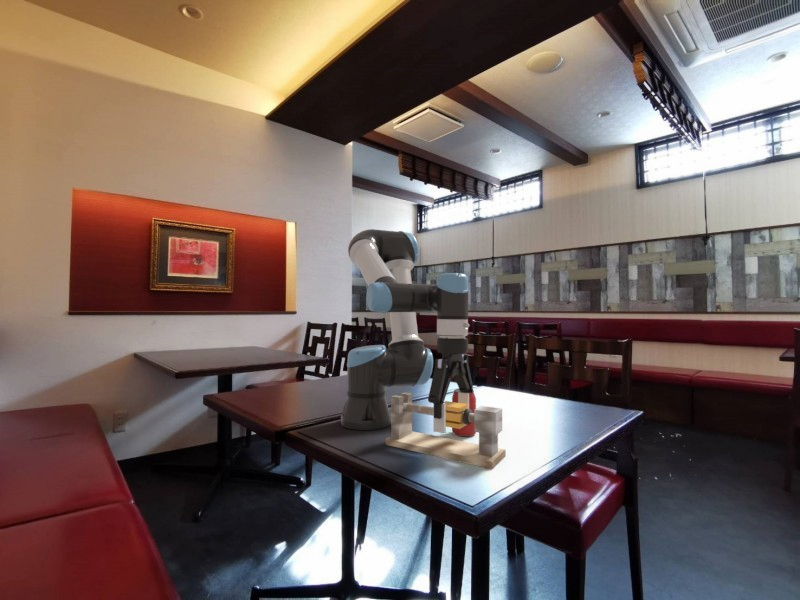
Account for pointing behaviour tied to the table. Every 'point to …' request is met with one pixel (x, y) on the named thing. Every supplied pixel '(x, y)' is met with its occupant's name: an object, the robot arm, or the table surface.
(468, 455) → the rod stand with block
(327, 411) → the table surface
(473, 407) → the beer can
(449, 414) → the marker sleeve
